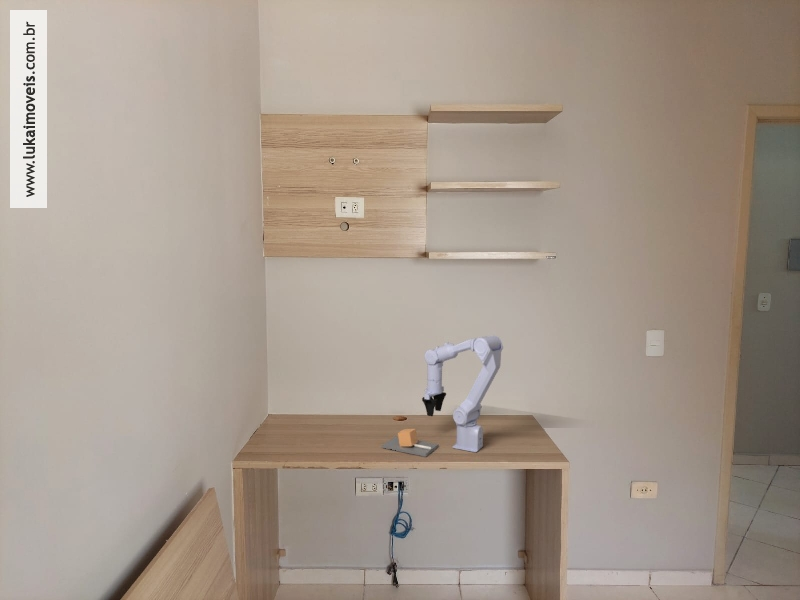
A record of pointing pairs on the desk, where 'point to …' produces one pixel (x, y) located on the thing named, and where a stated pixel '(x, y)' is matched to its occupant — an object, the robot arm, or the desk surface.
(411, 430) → the orange cube
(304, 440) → the desk surface
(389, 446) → the plate
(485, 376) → the robot arm
